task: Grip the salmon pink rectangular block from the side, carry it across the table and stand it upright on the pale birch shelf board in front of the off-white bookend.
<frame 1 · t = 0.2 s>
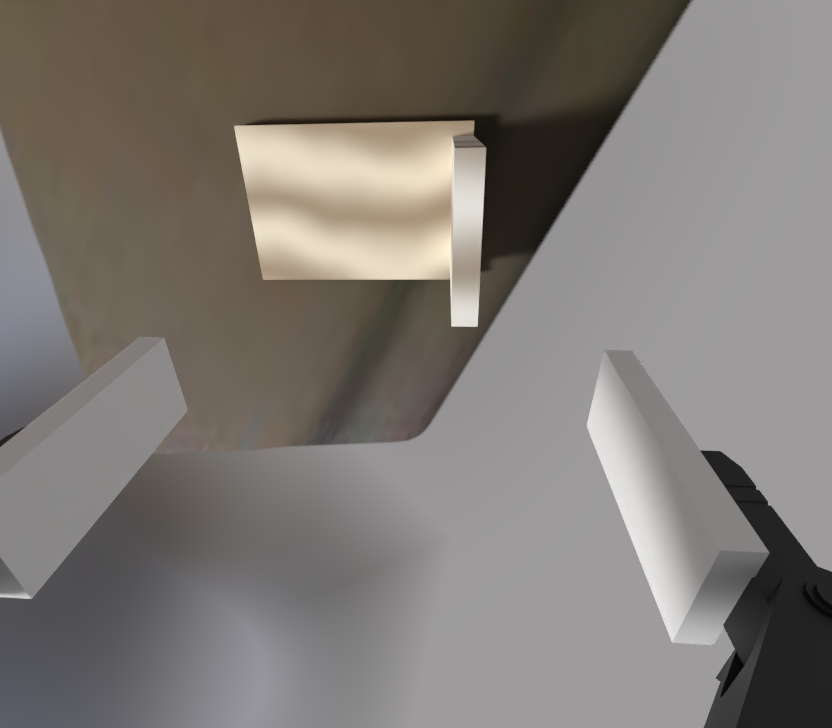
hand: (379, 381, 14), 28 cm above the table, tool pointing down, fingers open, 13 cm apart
shelf board: (361, 204, 38), on the table
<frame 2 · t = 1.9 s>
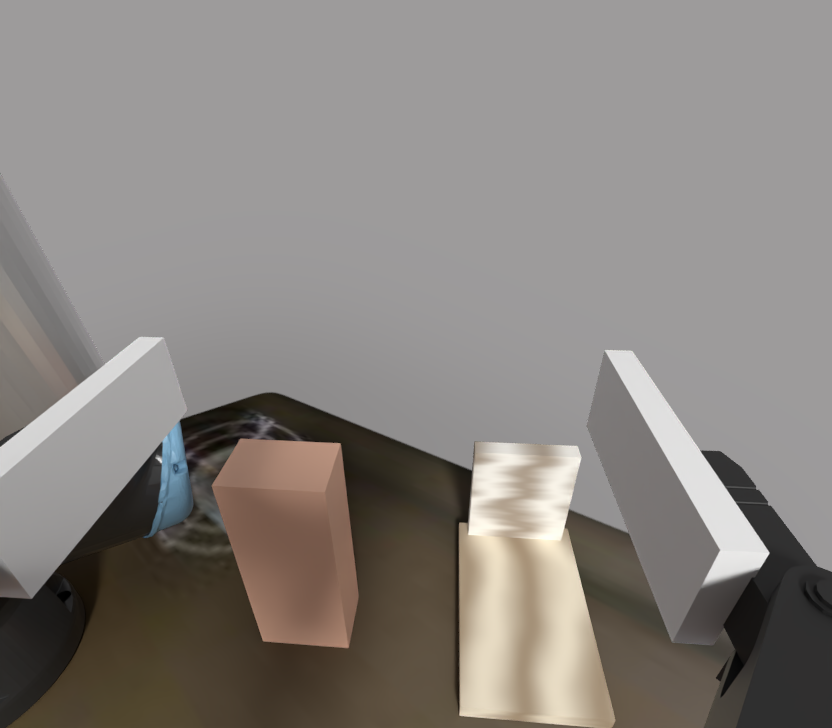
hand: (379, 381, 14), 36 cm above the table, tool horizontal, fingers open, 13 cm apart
salmon pink rectangular block: (312, 617, 44), on the table
shelf board: (520, 612, 44), on the table
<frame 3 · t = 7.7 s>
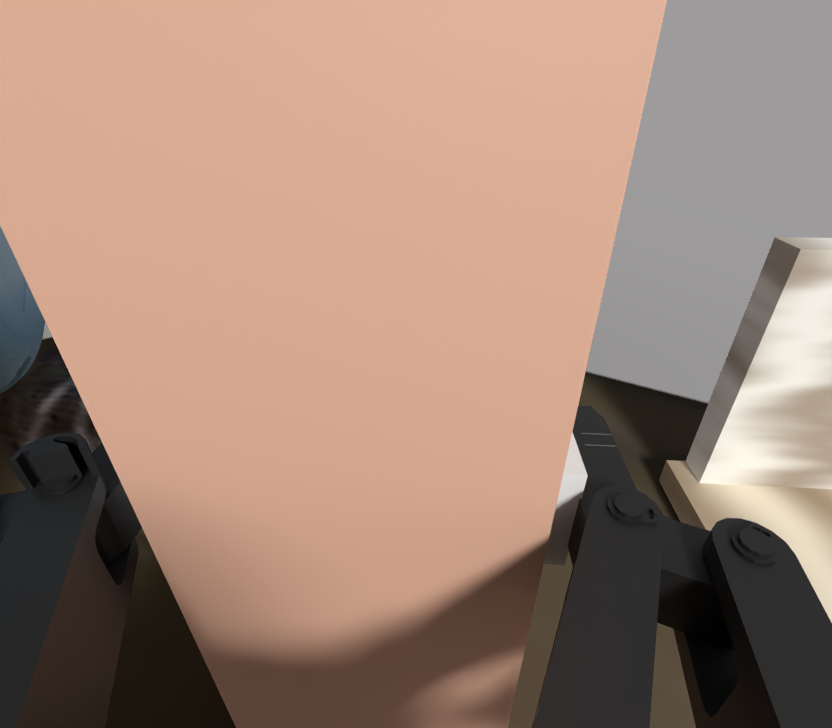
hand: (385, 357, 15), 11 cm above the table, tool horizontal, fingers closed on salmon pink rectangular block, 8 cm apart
salmon pink rectangular block: (381, 681, 17), on the table, touching gripper
when the fingers open (13 cm above the table, at t = 17.1 s): salmon pink rectangular block stays where it is, resting on shelf board.
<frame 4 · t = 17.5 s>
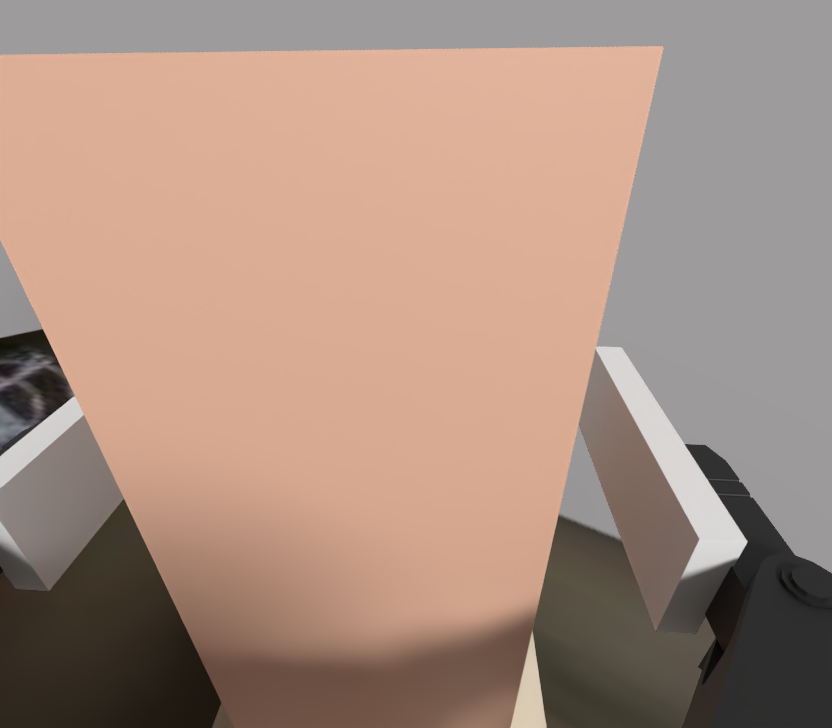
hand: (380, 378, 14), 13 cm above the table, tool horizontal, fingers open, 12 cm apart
salmon pink rectangular block: (383, 697, 17), point 1 cm above the table, touching shelf board
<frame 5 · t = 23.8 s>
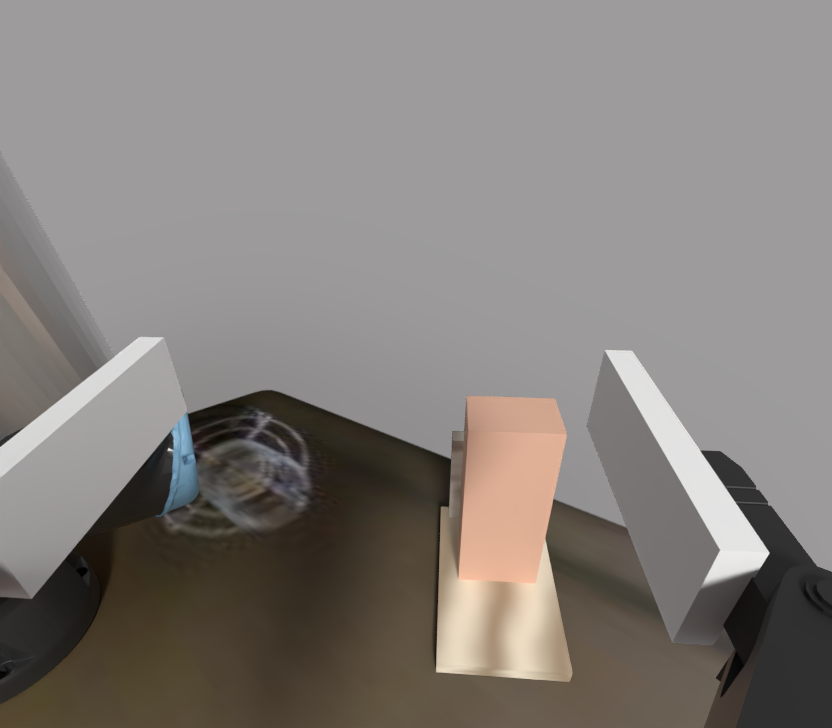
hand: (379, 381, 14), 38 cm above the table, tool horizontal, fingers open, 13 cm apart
salmon pink rectangular block: (494, 560, 50), point 1 cm above the table, touching shelf board
shelf board: (494, 584, 49), on the table
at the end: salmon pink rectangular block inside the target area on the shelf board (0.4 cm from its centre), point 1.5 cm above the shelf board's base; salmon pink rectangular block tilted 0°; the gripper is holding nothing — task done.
